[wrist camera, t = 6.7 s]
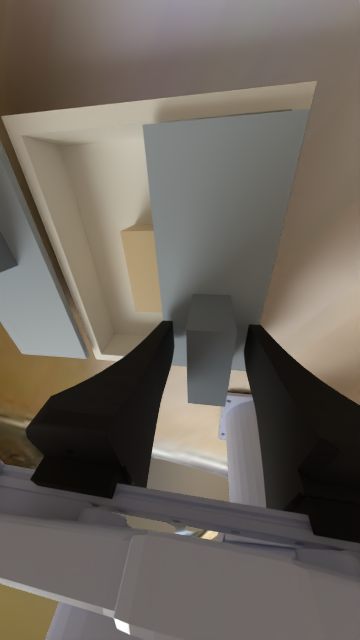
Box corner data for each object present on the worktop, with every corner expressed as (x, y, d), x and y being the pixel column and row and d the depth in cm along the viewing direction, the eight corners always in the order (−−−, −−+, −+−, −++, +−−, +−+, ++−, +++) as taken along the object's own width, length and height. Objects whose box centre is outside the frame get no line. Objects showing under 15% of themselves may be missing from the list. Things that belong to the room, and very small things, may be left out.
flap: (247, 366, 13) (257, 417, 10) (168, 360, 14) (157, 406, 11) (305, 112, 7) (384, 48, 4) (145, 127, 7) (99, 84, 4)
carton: (243, 344, 17) (248, 370, 14) (111, 336, 18) (96, 359, 16) (287, 111, 9) (316, 80, 6) (50, 133, 10) (0, 116, 8)
